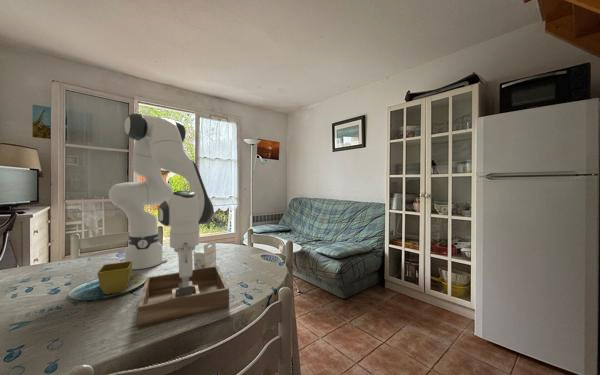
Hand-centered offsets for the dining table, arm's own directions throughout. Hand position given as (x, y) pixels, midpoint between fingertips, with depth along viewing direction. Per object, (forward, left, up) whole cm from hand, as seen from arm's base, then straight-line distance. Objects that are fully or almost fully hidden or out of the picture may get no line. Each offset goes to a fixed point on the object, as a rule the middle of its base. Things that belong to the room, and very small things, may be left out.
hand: (184, 280), depth 79 cm
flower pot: (-19, -22, -7) cm, 30 cm away
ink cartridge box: (-17, +8, -7) cm, 20 cm away
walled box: (0, 0, -7) cm, 7 cm away
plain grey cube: (0, 0, -6) cm, 6 cm away
